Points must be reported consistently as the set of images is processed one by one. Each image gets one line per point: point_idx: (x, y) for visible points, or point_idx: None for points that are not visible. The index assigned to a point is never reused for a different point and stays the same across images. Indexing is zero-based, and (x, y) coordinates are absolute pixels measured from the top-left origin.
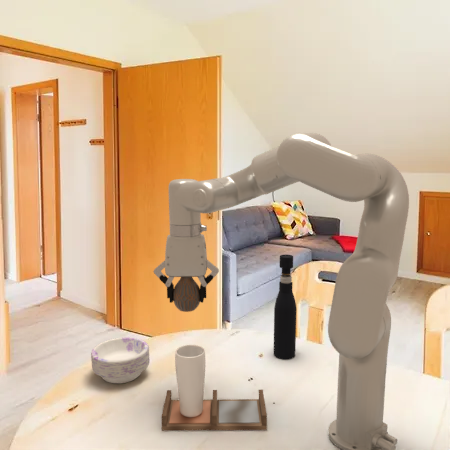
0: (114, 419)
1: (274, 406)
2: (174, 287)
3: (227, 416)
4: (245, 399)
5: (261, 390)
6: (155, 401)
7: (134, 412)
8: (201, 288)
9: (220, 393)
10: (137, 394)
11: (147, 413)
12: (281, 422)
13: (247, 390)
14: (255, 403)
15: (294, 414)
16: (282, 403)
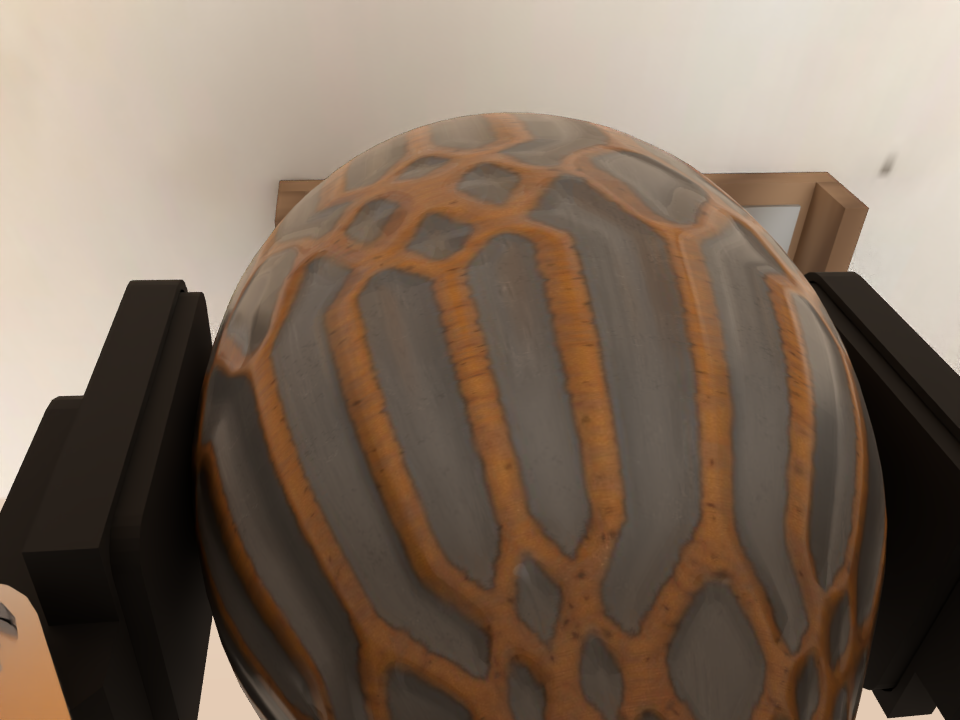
0: (16, 331)
1: (874, 202)
2: (223, 645)
3: None
4: (744, 184)
5: (857, 217)
6: (195, 155)
7: (104, 269)
8: (888, 690)
9: (611, 61)
10: (33, 66)
11: (185, 276)
12: None
13: (790, 24)
14: (784, 233)
15: (934, 267)
16: (927, 173)
